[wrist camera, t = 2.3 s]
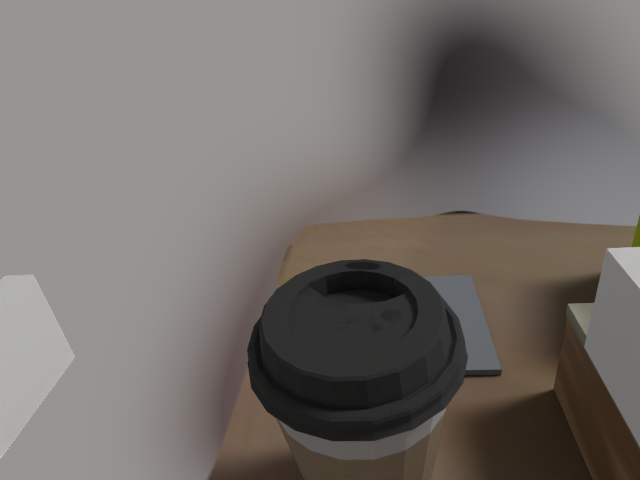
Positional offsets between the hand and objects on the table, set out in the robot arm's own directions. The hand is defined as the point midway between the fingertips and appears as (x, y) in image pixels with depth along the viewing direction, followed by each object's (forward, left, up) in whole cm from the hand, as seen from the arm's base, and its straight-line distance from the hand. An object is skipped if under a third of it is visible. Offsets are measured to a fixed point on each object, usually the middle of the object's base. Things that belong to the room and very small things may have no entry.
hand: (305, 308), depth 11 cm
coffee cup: (0, -10, -23) cm, 25 cm away
